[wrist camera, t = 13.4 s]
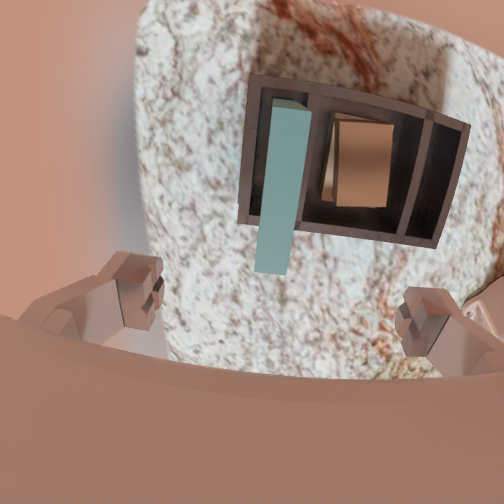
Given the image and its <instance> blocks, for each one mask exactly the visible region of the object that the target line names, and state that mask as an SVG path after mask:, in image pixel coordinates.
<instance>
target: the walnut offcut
mask: <svg viewBox="0 0 504 504" xmlns="http://www.w3.org/2000/svg"><path fill="white" fill-rule="evenodd" d="M392 135H393V125H391V124H389V123H386V122H382V121H370V120H356V119H337V118H334V166H333V190H332V198H333V200H334V202H335V204H336V206H354V207H386V202H387V194H388V184H389V174H390V163H391V151H392Z"/></svg>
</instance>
